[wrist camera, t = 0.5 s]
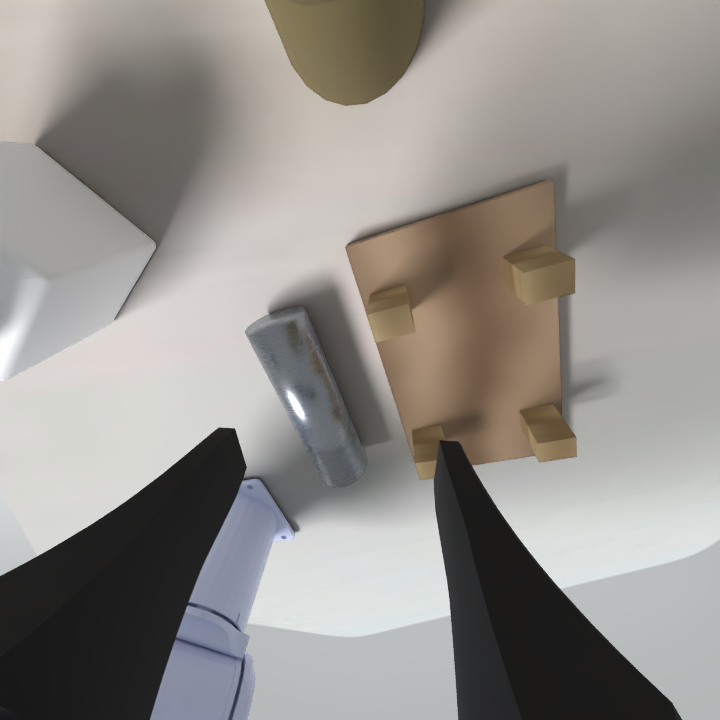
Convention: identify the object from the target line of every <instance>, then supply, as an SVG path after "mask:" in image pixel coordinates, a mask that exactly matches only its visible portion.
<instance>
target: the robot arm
mask: <svg viewBox="0 0 720 720" xmlns="http://www.w3.org/2000/svg"><path fill="white" fill-rule="evenodd" d="M246 468H247V467H246V464H245V460H244V457H243V454H242V450H241V447H240V444H239V440H238V437H237V434H236V431H235V429H234V428H218V429H216V430H215V431H214V432H213V433H211V434H210V435H209V436H208V437H207V438H205V439H204V440H203V441H202V442H201V443H199V444H198V445H197V446H196V447H195V448H194V449H192V450H191V451H190V452H189V453H188V454H186V455H185V456H184V457H183V458H181V459H180V460H179V461H178V462H177V463H175V464H174V465H173V466H172V467H171V468H169V469H168V470H167V471H166V472H164V473H163V474H162V475H160V476H159V477H158V478H157V479H155V480H154V481H153V482H151V483H150V484H149V485H147V486H146V487H145V488H143V489H142V490H141V491H139V492H138V493H137V494H136V495H134V496H133V497H131V498H130V499H129V500H127V501H126V502H124V503H123V504H122V505H120V506H119V507H117V508H116V509H114V510H113V511H111V512H110V513H108V514H107V515H105V516H104V517H102V518H101V519H99V520H98V521H96V522H95V523H93V524H91V525H90V526H88V527H87V528H85V529H83V530H82V531H80V532H78V533H77V534H75V535H73V536H72V537H70V538H68V539H67V540H65V541H63V542H62V543H60V544H58V545H57V546H55V547H53V548H52V549H50V550H48V551H46V552H44V553H43V554H41V555H39V556H37V557H35V558H34V559H32V560H30V561H28V562H26V563H24V564H23V565H21V566H19V567H17V568H15V569H13V570H11V571H9V572H7V573H5V574H4V575H2V576H0V720H247V718H248V715H249V711H250V707H251V702H252V698H253V692H254V686H255V670H254V666H253V659H252V656H251V655H250V654H248V653H245V650H246V647H247V643H248V640H249V635H246V634H244V631H245V627H246V624H247V621H248V618H249V615H250V612H251V609H252V605H253V602H254V599H255V596H256V593H257V590H258V587H259V583H260V580H261V577H262V574H263V571H264V568H265V564H266V561H267V558H268V555H269V552H270V549H271V546H272V542H276V541H284V540H291V539H293V538H294V536H295V532H294V531H293V529H292V528H291V526H290V525H289V523H288V522H287V520H286V518H285V517H284V515H283V514H282V512H281V511H280V509H279V508H278V506H277V505H276V503H275V501H274V500H273V498H272V497H271V495H270V494H269V492H268V491H267V489H266V488H265V486H264V485H263V483H262V482H261V481H260V480H259V479H251V480H245V481H242V480H243V477H244V474H245V471H246ZM434 494H435V509H436V516H437V522H438V529H439V535H440V541H441V547H442V553H443V559H444V565H445V571H446V576H447V583H448V590H449V598H450V610H451V622H452V634H453V648H454V661H455V675H456V689H457V706H458V720H682V719H681V717H680V715H679V714H678V712H677V710H676V709H675V707H674V705H673V703H672V702H671V701H670V700H669V699H668V698H667V697H665V696H664V695H663V694H662V693H661V692H660V691H659V690H658V689H657V688H656V687H655V686H654V685H653V684H652V683H651V682H650V681H649V680H648V679H646V678H645V677H644V676H643V675H642V674H641V673H640V672H639V671H638V670H637V669H636V668H635V667H634V666H633V665H632V664H631V663H630V662H629V661H628V660H627V659H626V658H625V657H624V656H623V655H622V654H621V653H620V652H619V651H618V650H617V649H616V648H615V647H614V646H613V645H612V644H611V643H610V642H609V641H608V640H607V639H606V638H605V637H604V636H603V635H602V634H601V633H600V632H599V631H598V630H597V629H596V628H595V627H594V626H593V625H592V624H591V623H590V621H589V620H588V619H587V618H586V617H585V616H584V615H583V614H582V613H581V612H580V610H579V609H578V608H577V607H576V606H575V605H574V604H573V603H572V602H571V600H570V599H569V598H568V597H567V596H566V595H565V594H564V593H563V592H562V591H561V589H560V588H559V587H558V586H557V585H556V584H555V583H554V582H553V580H552V579H551V578H550V577H549V576H548V574H547V573H546V572H545V571H544V570H543V568H542V567H541V566H540V565H539V564H538V562H537V561H536V560H535V559H534V557H533V556H532V555H531V554H530V552H529V551H528V550H527V548H526V547H525V546H524V545H523V543H522V542H521V541H520V539H519V538H518V537H517V535H516V534H515V533H514V531H513V530H512V528H511V527H510V526H509V524H508V523H507V521H506V520H505V518H504V517H503V516H502V514H501V513H500V511H499V510H498V508H497V507H496V505H495V504H494V502H493V500H492V499H491V497H490V496H489V494H488V492H487V491H486V489H485V488H484V486H483V484H482V483H481V481H480V479H479V478H478V476H477V474H476V472H475V471H474V469H473V467H472V465H471V463H470V461H469V460H468V458H467V456H466V454H465V452H464V450H463V447H462V445H461V444H460V443H459V442H458V441H444V440H440V441H439V447H438V454H437V461H436V468H435V475H434Z"/></svg>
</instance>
